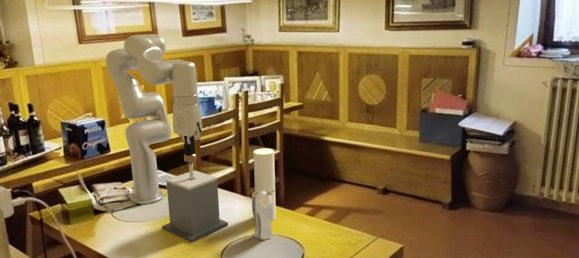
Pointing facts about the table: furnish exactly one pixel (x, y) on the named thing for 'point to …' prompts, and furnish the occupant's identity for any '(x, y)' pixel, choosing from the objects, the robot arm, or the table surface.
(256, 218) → the beer glass
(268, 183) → the cylindrical container
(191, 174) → the plunger
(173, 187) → the block
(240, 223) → the table surface
